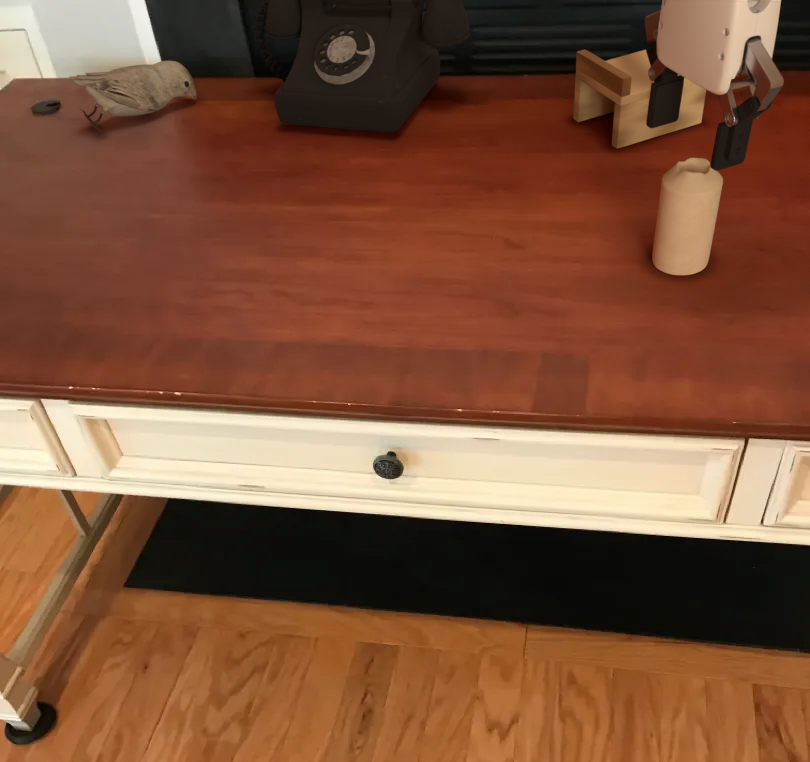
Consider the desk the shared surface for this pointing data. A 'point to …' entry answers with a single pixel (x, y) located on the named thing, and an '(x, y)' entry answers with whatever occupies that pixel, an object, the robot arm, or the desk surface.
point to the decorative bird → (137, 88)
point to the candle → (686, 217)
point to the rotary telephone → (359, 58)
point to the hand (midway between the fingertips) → (693, 144)
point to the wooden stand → (628, 96)
